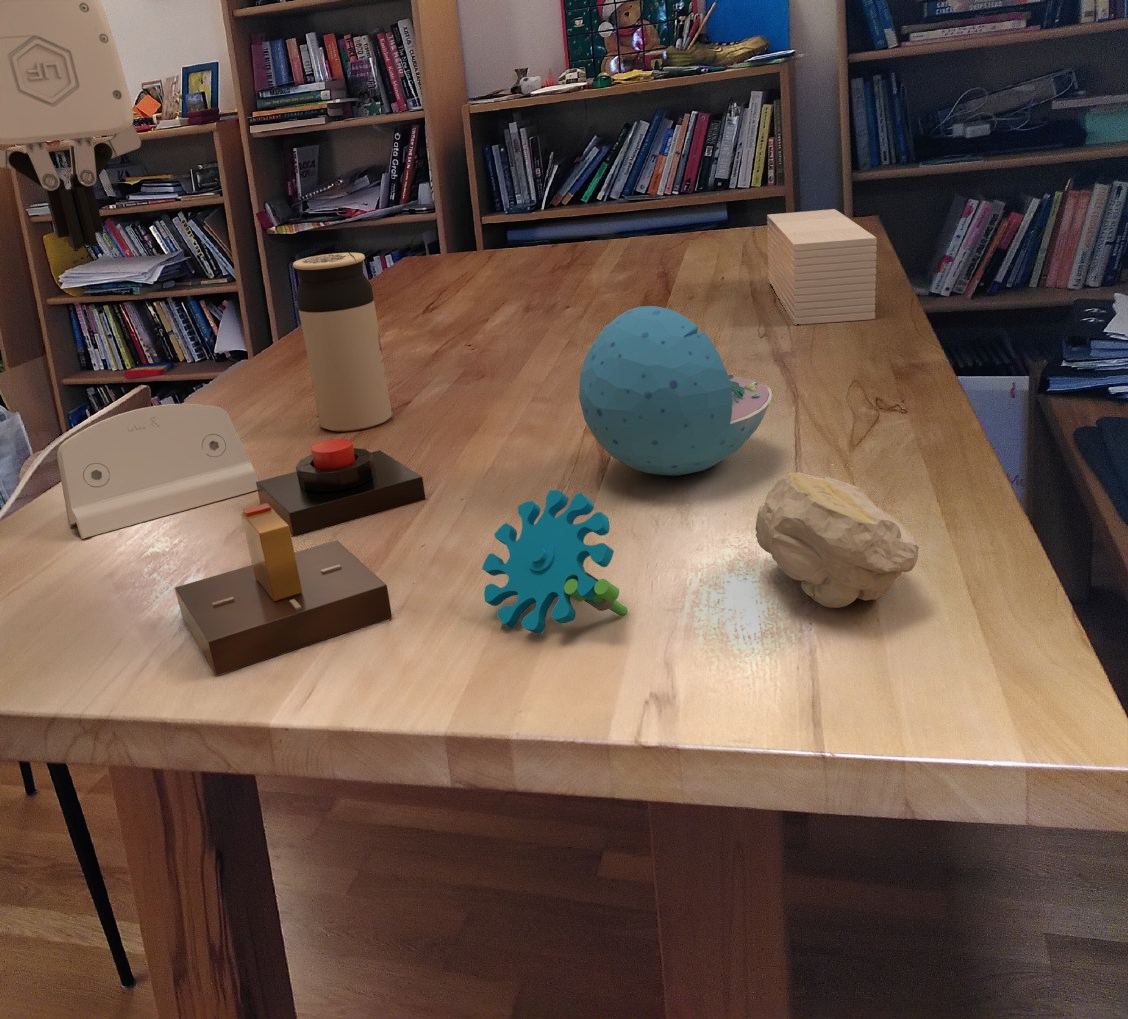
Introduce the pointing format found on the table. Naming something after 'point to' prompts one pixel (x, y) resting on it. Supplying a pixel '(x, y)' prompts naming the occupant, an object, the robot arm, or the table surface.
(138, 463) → the hinge
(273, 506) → the alarm box
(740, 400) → the educational model
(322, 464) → the button
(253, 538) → the yellow block
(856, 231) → the grooved wooden block
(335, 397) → the travel mug
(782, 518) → the beige rock
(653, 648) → the table surface
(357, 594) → the plate
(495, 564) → the gear
